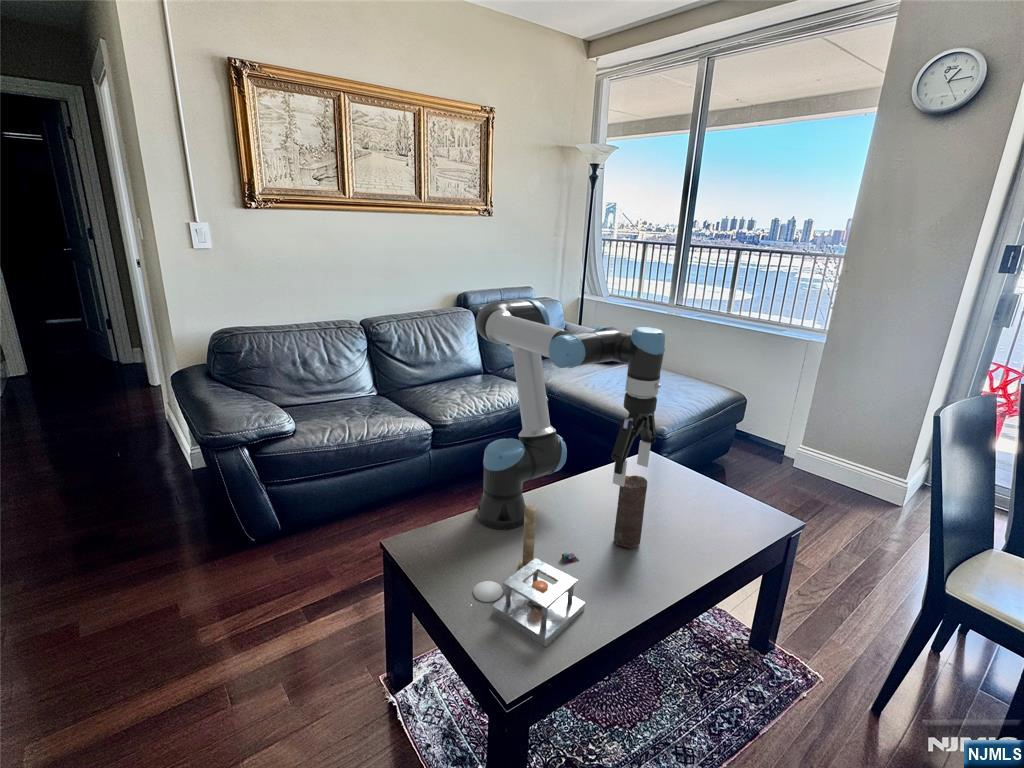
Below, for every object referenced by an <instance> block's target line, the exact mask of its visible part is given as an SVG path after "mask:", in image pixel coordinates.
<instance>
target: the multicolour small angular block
mask: <svg viewBox="0 0 1024 768" xmlns="http://www.w3.org/2000/svg"><path fill="white" fill-rule="evenodd" d="M561 560H562V561H563V562H564V563H565V564H566V563H567V564H568V563H571V564H575V563H578V562H580V559H579V558H578V557H577V556H576V555H575V553H574V552H571V553H567V552H565V553H562V554H561Z"/></svg>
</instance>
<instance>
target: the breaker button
mask: <svg viewBox="0 0 1024 768" xmlns="http://www.w3.org/2000/svg"><path fill="white" fill-rule="evenodd" d="M545 581H546V580H545ZM545 581H542V580H537V581H535V582H533V584H532V588H534V589H536V590H537V591H539V592H541V593H545V592H546V591H547V590H548V584H547V583H546V582H545ZM532 603H533V602H532ZM533 605H535V606H537V607H539V606H538V605H537V604H535V603H533Z"/></svg>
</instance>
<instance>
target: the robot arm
mask: <svg viewBox="0 0 1024 768" xmlns="http://www.w3.org/2000/svg"><path fill="white" fill-rule="evenodd" d="M550 322H551V321H550V316H549V313H548V310H547V308H546V307H545V305H543V304H542V303H541V302H540V301H538V300H536V299H516V300H514V299H513V300H502V301H500V300H499V301H498V300H497V301H493V302H490V303H487V304H486V305H484V306H483V307H482V308H481V309H480V310H479V312H478V314H477V315H476V320H475V326H476V330H477V333H478V334H479V335H480V337H481V338H483V339H484V340H486V341H487V342H490V343H492V344H496V345H499V344H500V345H501V344H502V345H503V344H505V346H506V348H507V349H508V350H510V351H511V352H512V358H513V360H512V361H513V367H514V374H515V381H516V390H517V397H518V403H519V404H518V405H519V412H520V417H521V418H520V419H521V425H522V429H521V431H520V432H519V433H518V439H516V438H513V437H512V438H511V437H509V438H500V439H496V440H494V441H492V442H490V443H489V444H488V445H487V446H486V447H485V449H484V454H483V461H482V464H483V485H482V486H483V491H482V492H483V493H482V494H481V498H480V500H479V503H478V505H477V508H476V509H477V510H476V517H477V520H478V521H479V523H481V524H482V525H484V526H485V527H487V528H490V529H493V530H511V529H515V528H518V527H520V526H522V525H524V513H525V507H526V506H527V505H526V504H525V499H524V495H523V484H524V482H526V481H530V480H534V479H537V478H540V477H543V476H546V475H547V476H549V475H552V474H553V473H555V472H558V471H560V470H561V469H562V468H563V466H564V465H565V464H566V461H567V456H568V455H567V454H568V451H567V445H566V442H565V441H564V438H563V437H562V436H560V435H559V434H557V430H556V428H554V427H553V426H552V425H551V421H550V413H549V405H548V399H547V398H548V397H547V390H546V383H545V377H544V369H543V359H542V356H543V357H545V358H549V360H550V362H551V363H553V364H554V365H553V366H555V367H557V368H561V369H567V368H568V369H574V368H576V367H581V366H587V365H592V364H598V363H605V362H611V361H613V362H617V363H621V364H624V365H627V372H626V381H625V389H624V390H625V393H624V397H623V398H624V400H623V408H624V409H625V411H627V413H628V414H627V418H622V419H621V421H620V425H619V430H618V434H617V436H616V439H615V443H614V446H613V448H612V449H613V450H612V453H611V455H610V459H611V461H614V468H613V477H612V484H613V485H617V486H619V487H620V486H622V487H623V486H624V484H625V476H627V475H626V474H627V467H628V460H627V458H628V456H629V452H630V450H631V449H632V445H633V443H634V441H635V438H637V437H638V436H639V434H640V438H641V440H640V441H639V445H638V453H637V460H636V464H637V465H639V466H642V467H645V468H647V467H648V466H649V461H650V452H651V445H652V444H655V442H656V438H655V437H656V435H657V433H656V432H657V431H656V421H655V412H656V410H657V402H658V397H657V395H658V394H659V389H661V387H662V385H661V384H660V380H661V371H662V364H663V360H664V354H665V351H666V349H665V348H666V347H665V344H666V334H665V332H664V331H663V330H661V329H659V328H655V327H649V326H647V327H646V326H639V327H635V328H633V329H632V332H628V331H625V330H621V329H618V328H615V327H614V326H604V325H602V326H598V327H597V328H596V329H594V330H593V331H587V332H580V333H579V332H573V331H569V330H566V329H562V328H559V327H555V326H551V325H550V324H551V323H550Z"/></svg>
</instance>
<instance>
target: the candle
mask: <svg viewBox="0 0 1024 768" xmlns="http://www.w3.org/2000/svg"><path fill="white" fill-rule="evenodd" d="M647 490H648V480H647V478H645V477H644V476H642V475H626V476H625V484H624V486H623V487H622V486H619V490H618V499H617V507H616V508H617V510H616V515H615V516H616V517H615V524H614V529H613V530H614V534H613V540H614V542H615V544H617V546H621V547H626V548H629V549H632V548H636V547H639V546H640V545H641V540H642V531H643V530H642V529H643V524H644V523H643V522H644V513H645V506H646V505H645V504H646V498H647Z"/></svg>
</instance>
